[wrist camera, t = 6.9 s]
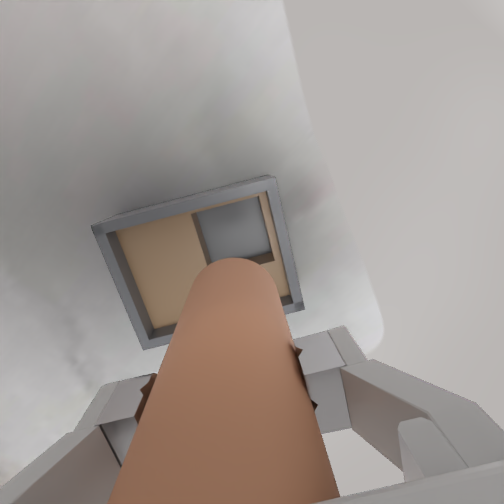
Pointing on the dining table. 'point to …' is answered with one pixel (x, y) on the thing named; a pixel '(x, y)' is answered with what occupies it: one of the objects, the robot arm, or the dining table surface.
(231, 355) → the peg
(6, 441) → the dining table surface
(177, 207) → the bore box
